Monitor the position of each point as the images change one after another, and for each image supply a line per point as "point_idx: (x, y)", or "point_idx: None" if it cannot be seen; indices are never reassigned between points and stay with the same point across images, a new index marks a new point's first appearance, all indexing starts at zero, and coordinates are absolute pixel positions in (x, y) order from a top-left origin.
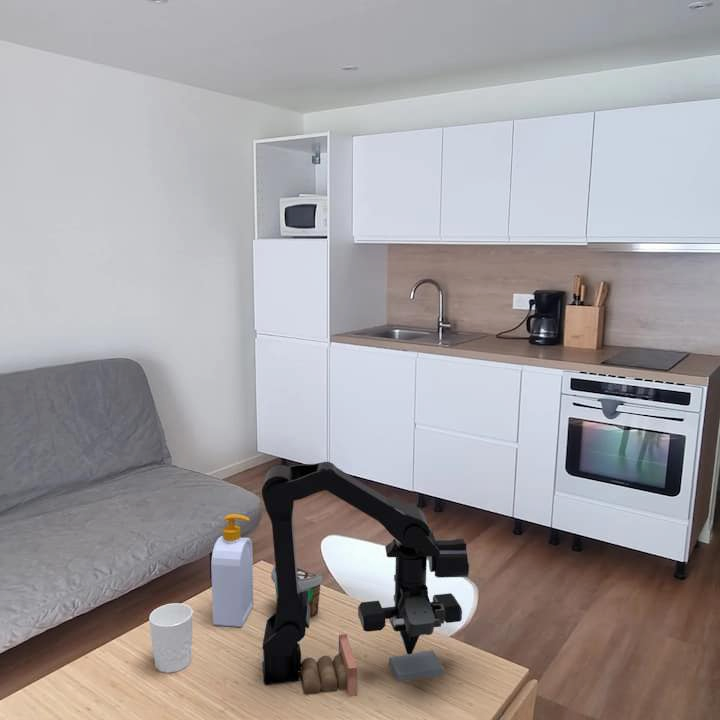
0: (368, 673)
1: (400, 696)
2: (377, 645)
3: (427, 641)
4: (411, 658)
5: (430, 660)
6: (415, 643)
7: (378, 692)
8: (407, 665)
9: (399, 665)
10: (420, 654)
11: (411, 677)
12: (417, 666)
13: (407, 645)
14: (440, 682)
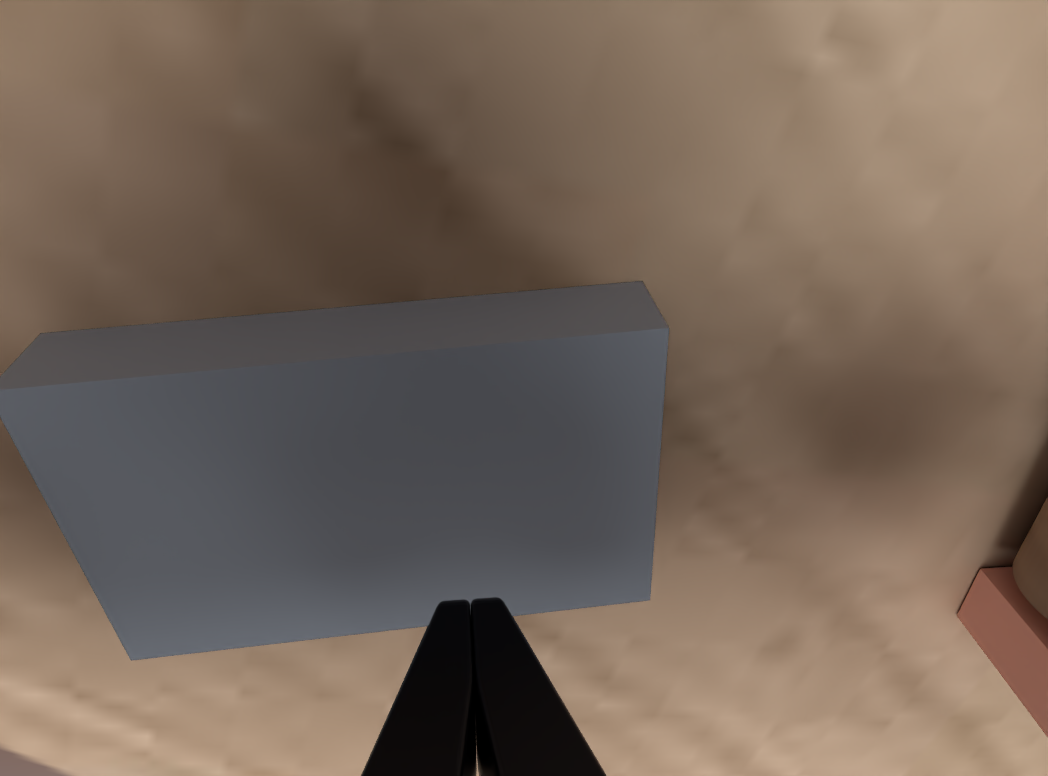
0: (872, 454)
1: (713, 20)
2: (638, 728)
3: (193, 751)
4: (413, 570)
5: (180, 524)
6: (381, 763)
7: (934, 157)
8: (493, 476)
9: (587, 486)
10: (293, 614)
11: (477, 316)
12: (371, 447)
13: (534, 729)
14: (93, 204)
